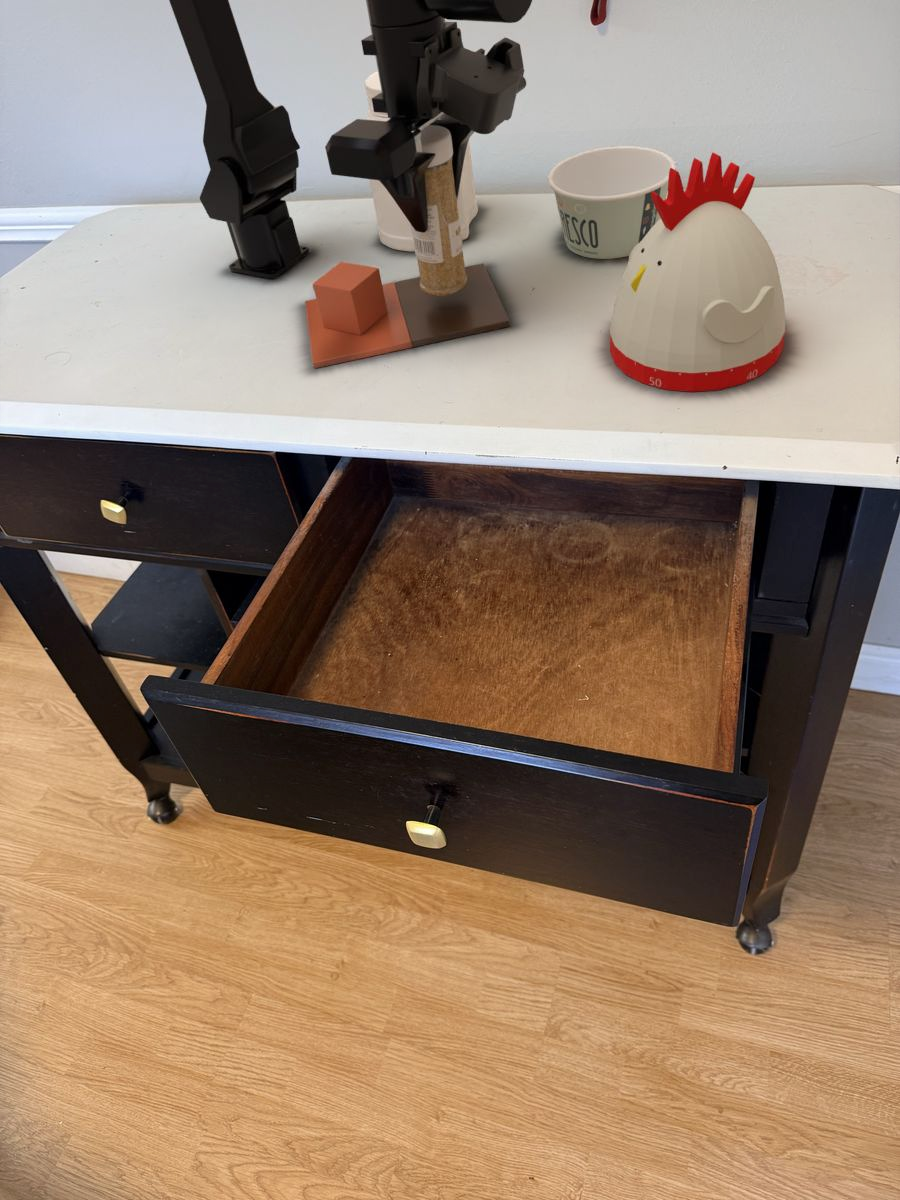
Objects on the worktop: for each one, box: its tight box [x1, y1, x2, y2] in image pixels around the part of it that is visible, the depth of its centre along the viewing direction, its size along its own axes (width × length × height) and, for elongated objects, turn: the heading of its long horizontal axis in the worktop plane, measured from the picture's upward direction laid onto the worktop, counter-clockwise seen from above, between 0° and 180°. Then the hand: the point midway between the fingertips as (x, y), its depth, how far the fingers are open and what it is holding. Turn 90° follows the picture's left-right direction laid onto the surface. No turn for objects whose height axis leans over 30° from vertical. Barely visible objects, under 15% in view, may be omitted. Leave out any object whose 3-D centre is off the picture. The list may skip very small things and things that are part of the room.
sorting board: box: [304, 262, 511, 369], centre depth 85 cm, size 18×12×1 cm, turn 100°
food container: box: [547, 145, 677, 260], centre depth 88 cm, size 12×12×6 cm
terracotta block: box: [312, 261, 388, 335], centre depth 83 cm, size 4×4×4 cm
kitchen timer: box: [609, 151, 786, 393], centre depth 70 cm, size 14×14×15 cm
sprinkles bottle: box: [411, 125, 467, 296], centre depth 79 cm, size 5×5×13 cm
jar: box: [364, 70, 479, 252], centre depth 93 cm, size 12×10×15 cm
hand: (436, 219), depth 80 cm, fingers closed on sprinkles bottle, 4 cm apart
